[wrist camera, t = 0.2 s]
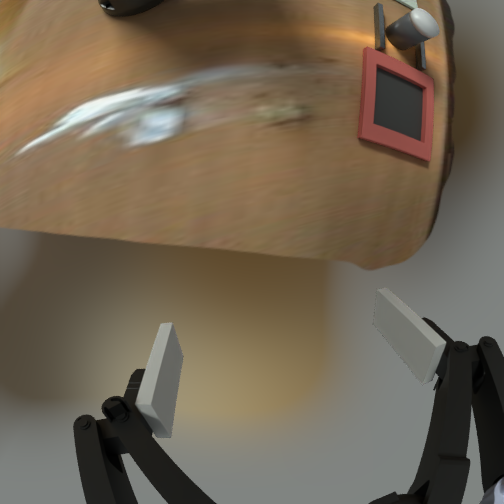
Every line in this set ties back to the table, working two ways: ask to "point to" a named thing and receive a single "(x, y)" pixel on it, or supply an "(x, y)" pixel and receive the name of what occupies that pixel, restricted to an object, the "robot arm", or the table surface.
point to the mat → (409, 3)
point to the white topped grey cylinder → (412, 29)
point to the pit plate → (396, 105)
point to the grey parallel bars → (381, 38)
